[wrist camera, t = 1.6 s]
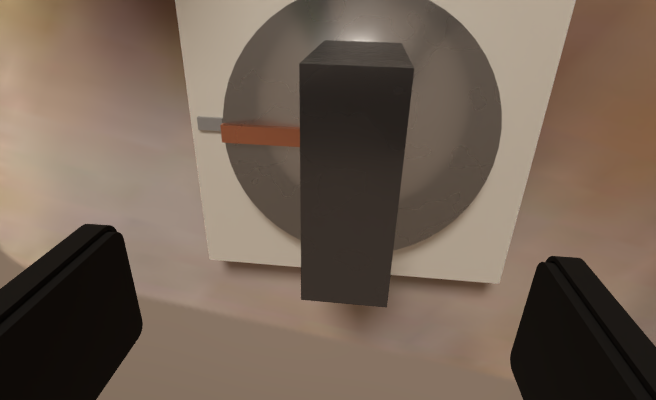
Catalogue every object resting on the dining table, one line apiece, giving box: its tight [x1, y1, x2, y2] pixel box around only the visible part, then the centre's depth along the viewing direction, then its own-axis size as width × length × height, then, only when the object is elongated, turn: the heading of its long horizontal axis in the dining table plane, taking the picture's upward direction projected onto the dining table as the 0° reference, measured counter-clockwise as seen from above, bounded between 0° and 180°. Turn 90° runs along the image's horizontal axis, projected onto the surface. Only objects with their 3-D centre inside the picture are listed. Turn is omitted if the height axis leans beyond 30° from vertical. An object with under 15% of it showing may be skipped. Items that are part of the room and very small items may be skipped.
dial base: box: [175, 0, 576, 284], centre depth 20 cm, size 16×16×2 cm
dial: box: [220, 0, 502, 307], centre depth 16 cm, size 12×12×7 cm
